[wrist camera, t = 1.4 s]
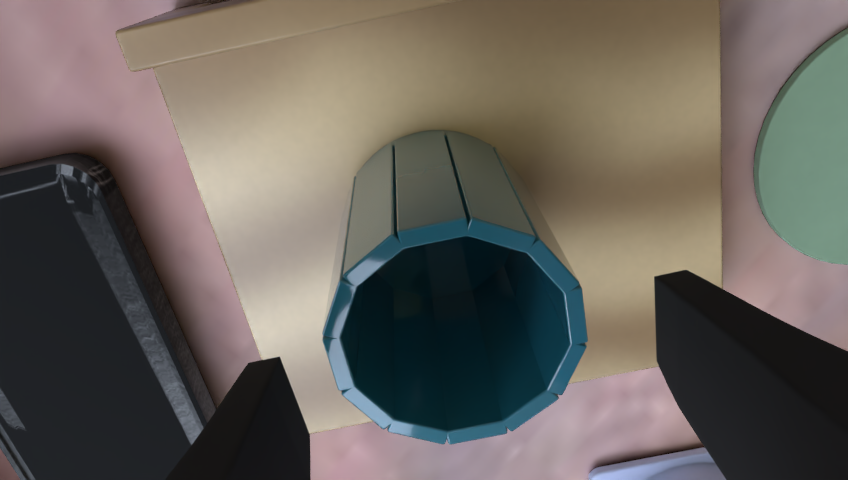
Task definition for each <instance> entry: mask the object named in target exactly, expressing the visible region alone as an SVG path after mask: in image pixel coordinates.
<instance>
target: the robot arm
mask: <svg viewBox="0 0 848 480" xmlns="http://www.w3.org/2000/svg"><path fill="white" fill-rule="evenodd" d="M654 290H655V324H656V358H657V363H658V365H659V367H660V369H661V371H662V374H663V376H664V378H665V380H666V382H667V384H668V386H669V388H670V390H671V392H672V394H673V396H674V398H675V400H676V402H677V404H678V406H679V408H680V410H681V411H682V413H683V414H684V416H685V418H686V419H687V421H688V422H689V424H690V425H691V427H692V428H693V430H694V431H695V433H696V434H697V436H698V438H699V439H700V441H701V442H702V444H703V445H704V447H703V448H697V449H692V450H687V451H681V452H676V453H671V454H665V455H660V456H655V457H649V458H644V459H639V460H633V461H628V462H623V463H618V464H612V465H607V466H602V467H597V468H595V469H593V470H592V471H591V472H590V474H589V480H848V351H845V350H843V349H841V348H839V347H836V346H834V345H832V344H830V343H828V342H825V341H823V340H821V339H819V338H817V337H814V336H812V335H810V334H808V333H806V332H804V331H802V330H800V329H798V328H795V327H793V326H791V325H789V324H787V323H785V322H783V321H781V320H779V319H777V318H775V317H774V316H772V315H770V314H768V313H766V312H764V311H762V310H760V309H758V308H756V307H755V306H753V305H751V304H749V303H747V302H745V301H743V300H742V299H740V298H738V297H736V296H734V295H733V294H731V293H729V292H727V291H725V290H723V289H722V288H720V287H718V286H716V285H714V284H713V283H711V282H709V281H707V280H705V279H703V278H702V277H700V276H698V275H696V274H694V273H692V272H690V271H688V270H682V271H677V272H673V273H668V274H663V275H659V276H654ZM165 480H310V434H309V431H308V429H307V426H306V423H305V421H304V418H303V416H302V413H301V410H300V408H299V405H298V403H297V400H296V397H295V395H294V392H293V390H292V387H291V384H290V382H289V379H288V377H287V374H286V371H285V369H284V366H283V364H282V361H281V358H280V356H279V357H275V358H270V359H265V360H260V361H256V362H251V363H248V365H247V366H246V367H245V369H244V370H243V372H242V373H241V374H240V376H239V377H238V379H237V380H236V382H235V383H234V385H233V386H232V388H231V389H230V391H229V392H228V394H227V395H226V396H225V398H224V399H223V401H222V402H221V404H220V405H219V407H218V408H217V410H216V411H215V413H214V414H213V416H212V417H211V419H210V420H209V421H208V423H207V424H206V426H205V427H204V428H203V430H202V431H201V433H200V434H199V436H198V437H197V438H196V440H195V441H194V443H193V444H192V445H191V447H190V448H189V449H188V451H187V452H186V453H185V454H184V456H183V457H182V458H181V460H180V461H179V462H178V463H177V465H176V466H175V467H174V469H173V470H172V471H171V472H170V474H169V475H168V476H167V478H166V479H165Z"/></svg>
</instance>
